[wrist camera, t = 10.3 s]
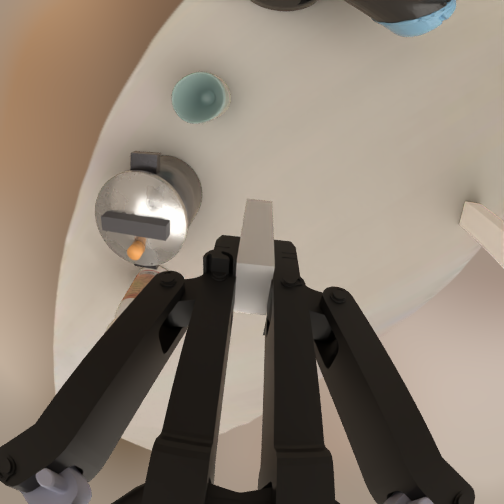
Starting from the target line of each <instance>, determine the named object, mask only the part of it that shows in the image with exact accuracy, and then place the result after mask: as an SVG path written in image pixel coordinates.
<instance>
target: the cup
mask: <svg viewBox="0 0 504 504" xmlns="http://www.w3.org/2000/svg"><path fill="white" fill-rule="evenodd" d="M230 102H231V94H230V90H229V88H228V86H227V84H226V83H225V82H224V81H223V80H222V79H221V78H219V77H218V76H216V75H214V74H211V73H208V72H196V73H192V74H189V75H187V76H185V77H184V78H182V79H181V80H180V81H179V82H178V83H177V84H176V85H175V87H174V89H173V92H172V105H173V108H174V110H175V112H176V113H177V115H178V116H179V117H180V118H181V119H182V120H184V121H186V122H188V123H192V124H200V123H205V122H208V121H211V120H214V119H216V118H218V117H219V116H221V115H222V114H223V113H224V112H225V111H226V110H227V109H228V107H229V105H230Z"/></svg>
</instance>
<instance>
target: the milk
mask: <svg viewBox="0 0 504 504" xmlns="http://www.w3.org/2000/svg"><path fill="white" fill-rule="evenodd" d="M459 225H460V226H461V227H462V228H463V229H464V230H466V231H467V232H468V233H469V234H470V235H471V236H472V237H473V238H474V239H475V240H476V241H477V242H478V243H479V244H480V245H481V246H482V247H483V248H484V249H485V250H487V252H488V253H489V254H490V255H491V256H492V257H493V258H494V259H495V260H496V261H497V262H498V263H499V264H500V265H501V266H502V268H504V221H503V220H502V219H500V218H499V217H498V216H496V215H495V214H494V213H493V212H491V211H490V210H489V209H487V208H486V207H485V206H483V205H482V204H479V203H473V202H467V201H465V203H464V207H463V211H462V215H461V219H460V223H459Z"/></svg>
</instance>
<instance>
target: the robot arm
mask: <svg viewBox="0 0 504 504" xmlns="http://www.w3.org/2000/svg"><path fill="white" fill-rule="evenodd" d="M251 1H252V2H254V3H255V4H257V5H259V6H262V7H264V8H268V9H271V10H277V11H294V10H300V9H303V8H306V7H308V6H311V5H312V4H314V3H315V2H317V1H318V0H251ZM344 1H346V2H347V3H349V4H351V5H352V6H354V7H356V8H357V9H359V10H360V11H362V12H363V13H365V14H366V15H368V16H369V17H371V19H372V20H373V21H375V22H377V23H378V24H381V25H383V26H385V27H386V28H387V29H389V30H390V31H392V32H393V33H395V34H397V35H400V36H403V37H414V36H419V35H422V34H424V33H427V32H429V31H431V30H433V29H435V28H437V27H438V26H440V25H441V24H442V21H443V20H446V19H448V18H449V17H450V16H451V15H452V14H453V12H454V10H455V8H456V0H344ZM296 254H297V253H296V247H295V246H294V245H293V244H292V242H290V241H281V240H274V233H273V210H272V201H265V200H255V199H247V201H246V207H245V213H244V219H243V225H242V231H241V237H236V236H226V235H222V236H221V237H219V238H218V239H217V240H216V243H215V247H214V250H211V251H209V252H207V253H206V254H205V255H204V256H203V275H202V276H200V277H197V278H192V279H184V277H183V276H182V275H181V274H180V273H178V272H176V271H163V272H161V273H158V274H157V275H156V276H154V277H153V278H152V280H151V281H150V282H149V283H148V284H147V285H146V286H145V287H144V288H143V290H142V291H141V292H140V293H139V294H138V295H137V296H136V297H135V299H134V300H133V301H132V302H131V303H130V304H129V305H128V307H127V308H126V309H125V310H124V311H123V312H122V313H121V315H120V316H119V317H118V318H117V319H116V320H115V322H114V323H113V324H112V325H111V326H110V328H109V329H108V330H107V331H106V332H105V333H104V335H103V336H102V337H101V338H100V340H99V341H98V342H97V343H96V344H95V346H94V347H93V348H92V349H91V351H90V352H89V353H88V354H87V355H86V357H85V358H84V359H83V360H82V362H81V363H80V364H79V366H78V367H77V368H76V369H75V371H74V372H73V373H72V374H71V376H70V377H69V378H68V380H67V381H66V382H65V384H64V385H63V386H62V388H61V389H60V390H59V392H58V393H57V394H56V396H55V397H54V398H53V400H52V401H51V403H50V404H49V405H48V407H47V408H46V409H45V411H44V412H43V414H42V415H41V416H40V418H39V419H38V421H37V422H36V424H34V425H33V426H31V427H30V428H29V429H27V430H26V431H24V432H23V433H21V434H20V435H18V436H17V437H15V438H14V439H12V440H11V441H9V442H8V443H6V444H4V445H3V446H1V447H0V481H1V482H2V483H4V484H5V485H7V486H9V487H12V488H14V489H16V490H19V491H20V492H21V493H22V494H23V496H24V497H25V499H26V501H27V502H28V504H88V503H89V501H90V499H91V497H92V493H91V488H90V485H89V484H88V482H89V481H90V480H92V479H93V478H94V477H95V475H97V473H98V472H99V471H100V470H101V469H102V467H103V466H104V464H105V463H106V461H107V460H108V458H109V456H110V455H111V453H112V451H113V450H114V448H115V446H116V445H117V443H118V441H119V440H120V438H121V436H122V435H123V433H124V431H125V430H126V428H127V426H128V425H129V423H130V421H131V420H132V418H133V416H134V415H135V413H136V411H137V410H138V408H139V406H140V405H141V403H142V401H143V400H144V398H145V397H146V395H147V393H148V392H149V390H150V388H151V387H152V385H153V383H154V382H155V380H156V379H157V377H158V375H159V374H160V372H161V370H162V369H163V367H164V366H165V364H166V362H167V361H168V359H169V357H170V356H171V354H172V353H173V351H174V349H175V348H176V346H177V345H178V343H179V341H180V340H181V338H182V337H183V335H184V333H185V332H186V330H187V333H186V336H185V340H184V344H183V348H182V351H181V355H180V359H179V363H178V367H177V371H176V375H175V379H174V383H173V387H172V391H171V395H170V399H169V403H168V407H167V412H166V416H165V420H164V425H163V429H162V432H161V434H160V435H159V436H158V437H157V438H156V440H155V442H154V445H153V449H152V453H151V457H150V462H149V467H148V472H147V477H146V482H145V483H144V484H142V485H140V486H138V487H136V488H134V489H133V490H131V491H130V492H128V493H127V494H125V495H124V496H122V497H121V498H119V499H118V500H116V501H115V502H113V503H111V504H340V503H339V502H337V501H336V500H335V488H334V471H333V460H332V455H331V453H330V451H329V450H328V449H327V448H326V447H325V445H324V437H323V425H322V413H321V403H320V393H319V384H318V374H317V366H316V360H317V362H318V365H319V367H320V370H321V372H322V375H323V377H324V380H325V382H326V384H327V387H328V389H329V392H330V394H331V397H332V399H333V402H334V404H335V407H336V409H337V412H338V414H339V417H340V419H341V422H342V424H343V427H344V429H345V432H346V434H347V437H348V439H349V442H350V445H351V447H352V450H353V452H354V455H355V457H356V460H357V463H358V465H359V468H360V470H361V473H362V476H363V478H364V481H365V483H366V485H367V488H368V490H369V492H370V494H371V495H372V497H373V498H374V500H375V501H376V503H377V504H474V500H475V494H474V490H473V488H472V487H471V486H470V485H469V484H468V483H467V482H466V481H465V480H464V479H463V478H462V477H461V476H460V475H459V474H458V473H457V472H456V471H455V470H454V469H453V468H452V467H451V466H450V465H449V464H448V463H447V462H446V461H445V460H444V459H443V458H442V456H441V454H440V452H439V450H438V448H437V446H436V444H435V442H434V440H433V438H432V435H431V433H430V431H429V429H428V427H427V425H426V423H425V421H424V419H423V417H422V415H421V413H420V411H419V410H418V408H417V406H416V404H415V402H414V400H413V398H412V396H411V395H410V393H409V391H408V389H407V387H406V385H405V383H404V382H403V380H402V378H401V376H400V375H399V373H398V371H397V369H396V367H395V366H394V364H393V362H392V360H391V359H390V357H389V356H388V354H387V352H386V350H385V348H384V347H383V345H382V343H381V342H380V340H379V338H378V337H377V335H376V333H375V332H374V330H373V328H372V327H371V325H370V324H369V322H368V320H367V319H366V317H365V316H364V314H363V312H362V311H361V309H360V308H359V306H358V304H357V303H356V301H355V300H354V298H353V297H352V295H351V294H350V293H349V292H348V291H346V290H345V289H343V288H340V287H328V288H326V289H325V290H324V292H323V293H322V292H318V291H315V290H313V289H310V288H309V287H307V286H306V285H305V282H304V280H303V279H302V278H301V277H300V272H299V266H298V260H297V255H296ZM233 312H238V313H248V314H258V315H266V313H267V318H266V323H265V328H264V333H263V335H265V359H264V394H263V425H262V450H261V451H262V452H261V468H260V472H259V479H258V490H256V491H249V492H243V493H239V492H234V491H231V490H228V489H225V488H222V487H219V486H216V485H213V484H214V473H215V460H216V451H217V442H218V434H219V425H220V417H221V409H222V400H223V392H224V384H225V376H226V368H227V360H228V352H229V344H230V336H231V328H232V320H233ZM187 328H188V329H187Z"/></svg>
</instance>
